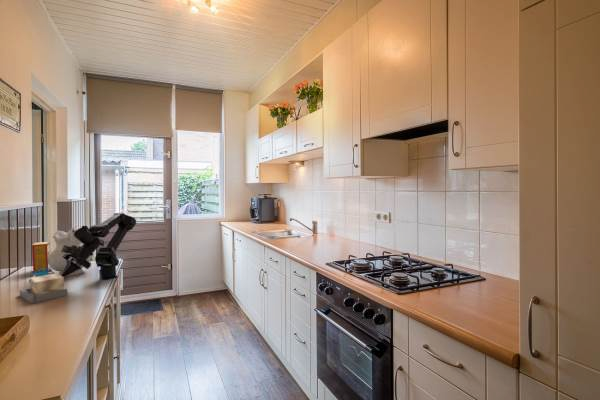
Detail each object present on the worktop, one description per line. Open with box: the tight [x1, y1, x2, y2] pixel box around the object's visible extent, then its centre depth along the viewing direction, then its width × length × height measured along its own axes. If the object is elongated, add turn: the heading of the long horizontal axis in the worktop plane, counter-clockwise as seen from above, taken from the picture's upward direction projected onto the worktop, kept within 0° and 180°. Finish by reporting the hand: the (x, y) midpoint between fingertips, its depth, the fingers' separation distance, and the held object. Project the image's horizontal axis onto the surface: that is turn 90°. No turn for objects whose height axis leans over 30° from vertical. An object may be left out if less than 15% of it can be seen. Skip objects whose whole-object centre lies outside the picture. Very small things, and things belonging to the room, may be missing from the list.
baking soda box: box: [31, 241, 52, 274], centre depth 184 cm, size 10×6×16 cm
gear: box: [28, 268, 56, 284], centre depth 157 cm, size 11×6×10 cm
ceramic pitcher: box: [48, 228, 92, 277], centre depth 176 cm, size 22×20×25 cm
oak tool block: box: [29, 272, 65, 296], centre depth 142 cm, size 10×11×8 cm
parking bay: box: [18, 287, 68, 304], centre depth 140 cm, size 12×18×2 cm
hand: (61, 276), depth 146 cm, fingers closed
